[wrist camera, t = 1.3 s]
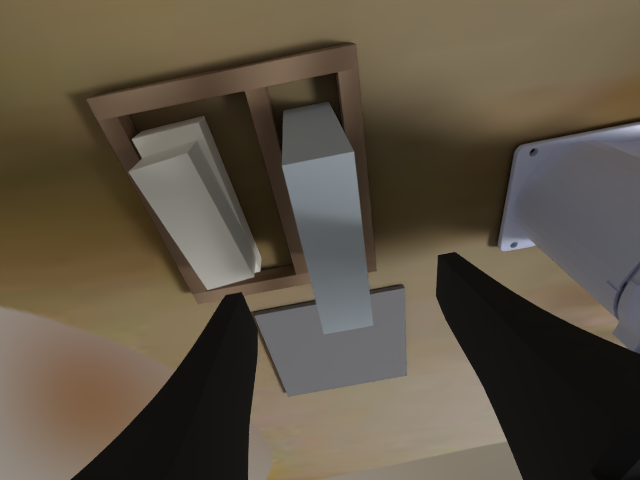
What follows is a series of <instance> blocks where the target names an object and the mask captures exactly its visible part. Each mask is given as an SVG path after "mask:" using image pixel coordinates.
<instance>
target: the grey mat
mask: <svg viewBox="0 0 640 480" xmlns="http://www.w3.org/2000/svg"><path fill="white" fill-rule="evenodd" d="M370 299H371V308H372V317H373V326H368V327H363V328H357V329H352V330H346V331H341V332H335V333H330V334H324V333H323V329H322V325H321V321H320V317H319V313H318V309H317V305H316V301H312V302H306V303H301V304H296V305H290V306H285V307H279V308H274V309H268V310H263V311H258V312H255V314H254V316H255V319H256V321H257V323H258V326H259V328H260V331H261V333H262V335H263V338H264V340H265V343H266V345H267V347H268V350H269V352H270V355H271V357H272V359H273V362H274V364H275V366H276V369H277V371H278V374H279V376H280V378H281V381H282V383H283V386H284V388H285V390H286V393H287V395H288V397H289V396H294V395H300V394H306V393H311V392H317V391H323V390H328V389H334V388H339V387H345V386H351V385H356V384H362V383H368V382H373V381H379V380H384V379H390V378H396V377H401V376H407V360H406V321H405V288H404V285H398V286H393V287H388V288H382V289H377V290H371V291H370Z"/></svg>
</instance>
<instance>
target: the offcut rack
mask: <svg viewBox="0 0 640 480" xmlns="http://www.w3.org/2000/svg"><path fill="white" fill-rule="evenodd" d="M331 73H335V74H336V82H337V90H338V98H339V106H340V114H341V122H342V129H343V131H344V133H345V135H346V137H347V139H348V141H349V143H350V144H351V146H352V148H353V150H354V155H355V164H356V173H357V182H358V191H359V200H360V209H361V218H362V227H363V236H364V245H365V254H366V263H367V272H374V271H377V270H376V259H375V248H374V237H373V226H372V215H371V203H370V192H369V181H368V170H367V159H366V148H365V137H364V126H363V115H362V104H361V92H360V81H359V70H358V59H357V48H356V44H354V43H347V44H342V45H337V46H332V47H327V48H323V49H318V50H313V51H308V52H303V53H298V54H293V55H288V56H283V57H278V58H274V59H269V60H264V61H259V62H254V63H249V64H244V65H239V66H234V67H229V68H225V69H220V70H215V71H210V72H205V73H200V74H195V75H190V76H185V77H180V78H176V79H171V80H166V81H161V82H156V83H151V84H146V85H141V86H136V87H131V88H127V89H122V90H117V91H112V92H107V93H102V94H97V95H95V96H93V97H90V98H88V99H86V101H87V102H88V104H89V106H90V108H91V110H92V112H93V113H94V115H95V117H96V119H97V121H98V123H99V124H100V126H101V128H102V130H103V132H104V133H105V135H106V137H107V139H108V141H109V143H110V144H111V146H112V148H113V150H114V152H115V154H116V155H117V157H118V159H119V161H120V163H121V164H122V166H123V168H124V170H125V172H126V174H127V175H128V177H129V179H130V181H131V183H132V185H133V186H134V188H135V190H136V192H137V194H138V195H139V197H140V199H141V201H142V203H143V205H144V206H145V208H146V210H147V212H148V214H149V216H150V217H151V219H152V221H153V223H154V225H155V226H156V228H157V230H158V232H159V234H160V236H161V237H162V239H163V241H164V243H165V245H166V247H167V248H168V250H169V252H170V254H171V256H172V257H173V259H174V261H175V263H176V265H177V267H178V268H179V270H180V272H181V274H182V276H183V278H184V279H185V281H186V283H187V285H188V287H189V288H190V290H191V292H192V294H193V296H194V298H195V299H196V301H197V303H198V304H202V303H207V302H212V301H218V300H223V298H224V296H225V295H228V294H234V293H239V292H242V294H243V296H245V295H250V294H255V293H261V292H266V291H272V290H277V289H282V288H288V287H293V286H298V285H304V284H309V283H311V281H310V277H309V273H308V269H307V265H306V261H305V257H304V253H303V248H302V244H301V240H300V236H299V232H298V228H297V224H296V220H295V216H294V212H293V208H292V204H291V200H290V196H289V192H288V188H287V184H286V180H285V176H284V172H283V168H282V147H281V143H280V138H279V134H278V130H277V126H276V122H275V118H274V114H273V109H272V105H271V101H270V97H269V93H268V89H267V86H272V85H277V84H282V83H287V82H292V81H297V80H301V79H306V78H311V77H316V76H321V75H326V74H331ZM242 91H245V94H246V97H247V101H248V105H249V108H250V112H251V115H252V119H253V122H254V126H255V130H256V133H257V137H258V140H259V144H260V147H261V151H262V155H263V158H264V162H265V165H266V169H267V172H268V176H269V180H270V183H271V187H272V190H273V194H274V197H275V201H276V205H277V208H278V212H279V215H280V219H281V222H282V226H283V230H284V233H285V237H286V240H287V244H288V247H289V251H290V255H291V258H292V262H293V265H289V266H283V267H278V268H273V269H267V270H262V271H260V272H256V273H254V277H253V278H249V279H246V280H242V281H239V282H235V283H231V284H228V285H224V286H221V287H217V288H214V289H210V290H207V289H206V287H205V286H204V284H203V283H202V281H201V280H200V278H199V277H198V275H197V274H196V272H195V271H194V269H193V268H192V266H191V265H190V263H189V262H188V260H187V259H186V257H185V256H184V254H183V253H182V251H181V250H180V248H179V247H178V245H177V244H176V242H175V241H174V239H173V238H172V236H171V235H170V233H169V232H168V231H167V229H166V228H165V226H164V225H163V223H162V222H161V220H160V219H159V217H158V216H157V214H156V213H155V211H154V210H153V208H152V207H151V205H150V204H149V202H148V201H147V199H146V198H145V196H144V195H143V193H142V192H141V190H140V189H139V187H138V186H137V184H136V183H135V181H134V180H133V178H132V177H131V175H130V174H129V171H130V170H131V169H132V168H133V167H134V166H135V165H136V164H137V163H138V162H139V161H140V160H141V159H142V157H141V155H140V154H139V152H138V150H137V148H136V146H135V144H134V143H133V141H132V139H133V138H134V137H135V136H136V135H138V132H137V130H136V128H135V126H134V124H133V122H132V120H131V118H130V116H129V114H133V113H138V112H143V111H148V110H153V109H158V108H163V107H168V106H173V105H178V104H183V103H188V102H193V101H198V100H202V99H207V98H212V97H217V96H222V95H227V94H232V93H237V92H242Z"/></svg>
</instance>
